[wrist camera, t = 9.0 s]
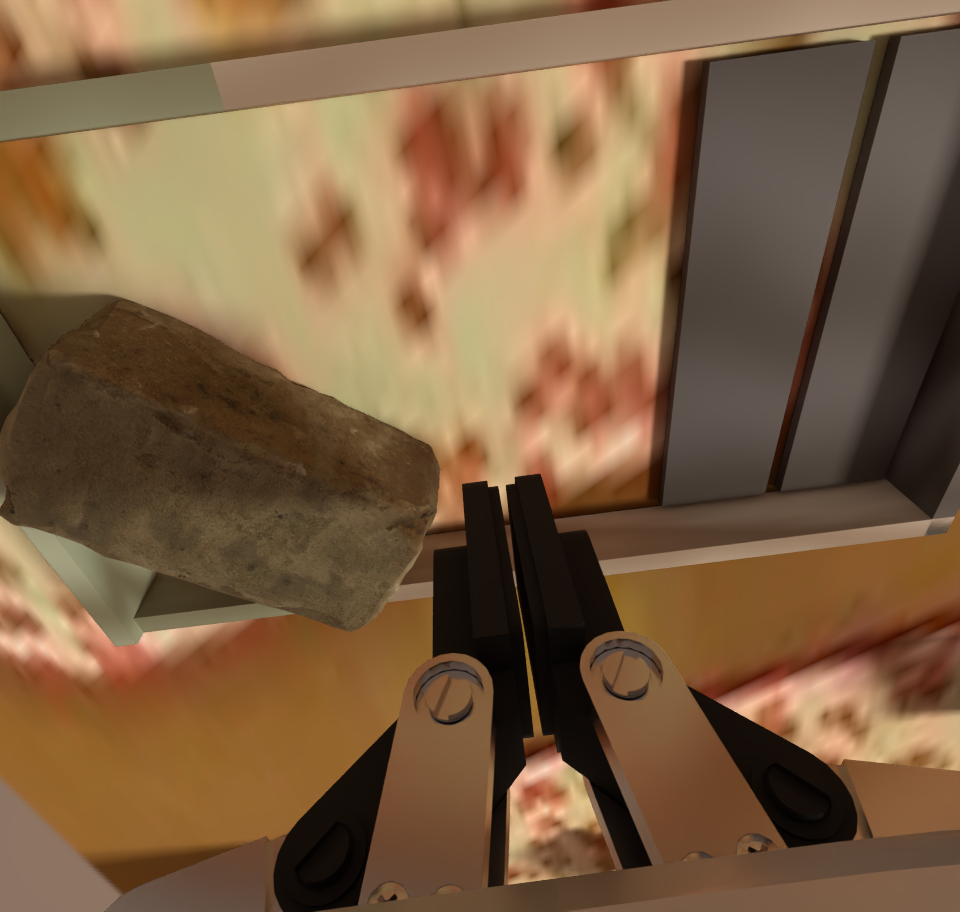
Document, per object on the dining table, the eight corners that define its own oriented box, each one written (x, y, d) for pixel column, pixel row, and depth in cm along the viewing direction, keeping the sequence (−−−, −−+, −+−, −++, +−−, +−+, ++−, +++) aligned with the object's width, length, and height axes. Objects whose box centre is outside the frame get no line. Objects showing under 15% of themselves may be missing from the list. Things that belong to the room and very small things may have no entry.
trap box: (897, 491, 22) (956, 542, 19) (152, 584, 22) (115, 646, 19) (1128, -53, 12) (1299, -88, 10) (-157, 122, 13) (-300, 129, 10)
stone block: (380, 545, 22) (364, 650, 18) (68, 424, 18) (-44, 523, 14) (451, 440, 19) (453, 535, 15) (104, 274, 15) (-22, 339, 11)
